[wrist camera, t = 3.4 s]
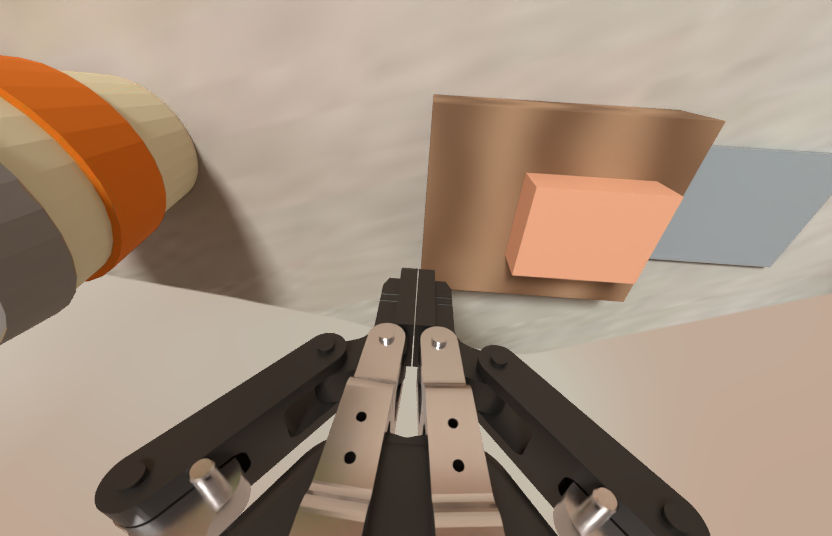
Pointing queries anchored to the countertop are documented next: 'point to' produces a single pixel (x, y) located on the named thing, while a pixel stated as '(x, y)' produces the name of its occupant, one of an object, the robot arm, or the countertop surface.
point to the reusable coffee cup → (78, 181)
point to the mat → (746, 206)
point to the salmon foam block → (588, 227)
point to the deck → (545, 154)
